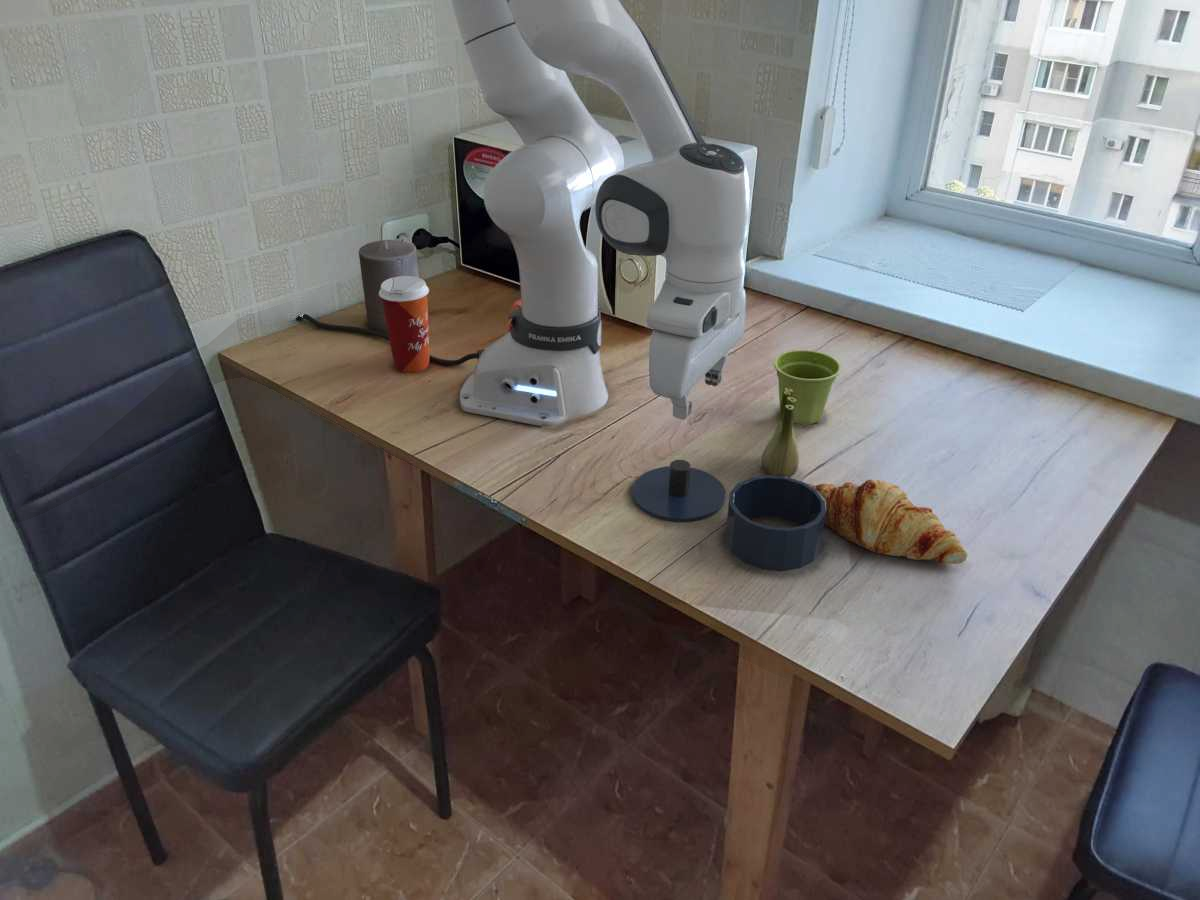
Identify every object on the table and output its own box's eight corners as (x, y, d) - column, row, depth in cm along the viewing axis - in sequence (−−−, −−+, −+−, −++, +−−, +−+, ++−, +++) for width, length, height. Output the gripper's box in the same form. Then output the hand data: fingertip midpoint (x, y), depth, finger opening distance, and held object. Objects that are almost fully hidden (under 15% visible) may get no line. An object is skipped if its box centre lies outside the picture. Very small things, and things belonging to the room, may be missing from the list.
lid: (626, 520, 120) (626, 486, 117) (637, 469, 130) (638, 436, 127) (722, 530, 118) (725, 496, 116) (727, 477, 128) (729, 444, 126)
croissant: (965, 579, 116) (989, 517, 114) (948, 587, 107) (974, 520, 106) (805, 514, 126) (826, 457, 125) (778, 517, 118) (799, 455, 116)
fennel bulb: (786, 488, 126) (796, 409, 120) (752, 477, 128) (760, 398, 122) (804, 468, 130) (814, 390, 124) (770, 457, 132) (779, 380, 126)
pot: (723, 569, 112) (726, 525, 109) (727, 513, 121) (731, 471, 118) (820, 578, 110) (827, 534, 107) (817, 522, 120) (824, 479, 116)
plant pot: (833, 436, 137) (841, 382, 133) (766, 429, 139) (772, 375, 134) (833, 404, 145) (840, 352, 141) (770, 398, 147) (775, 347, 142)
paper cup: (427, 377, 152) (419, 294, 145) (381, 373, 153) (370, 291, 146) (442, 355, 159) (434, 275, 152) (397, 352, 160) (388, 272, 153)
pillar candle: (356, 324, 169) (344, 242, 161) (399, 307, 176) (390, 228, 168) (392, 340, 164) (382, 256, 156) (435, 322, 170) (427, 240, 162)
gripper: (714, 259, 119) (708, 360, 126) (639, 319, 104) (637, 429, 111) (762, 268, 116) (753, 370, 124) (693, 330, 101) (687, 443, 108)
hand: (698, 399), depth 117 cm, fingers open, 8 cm apart
